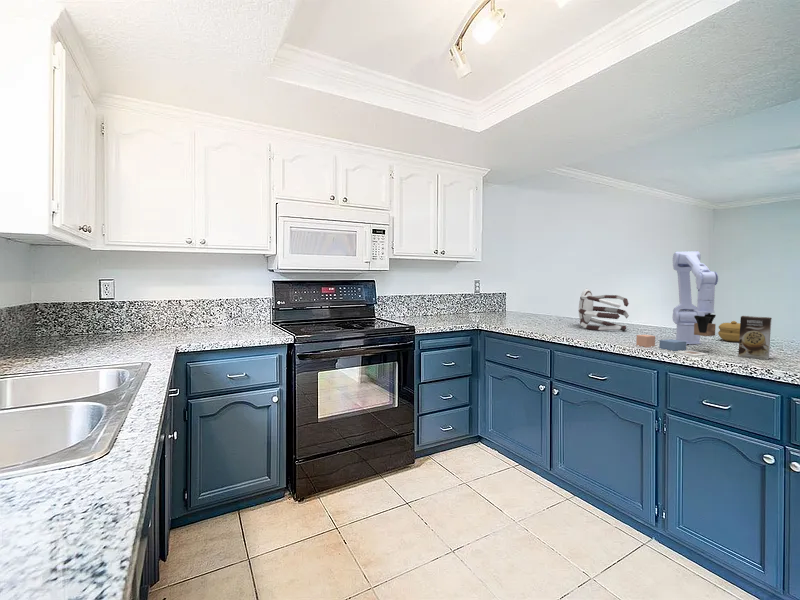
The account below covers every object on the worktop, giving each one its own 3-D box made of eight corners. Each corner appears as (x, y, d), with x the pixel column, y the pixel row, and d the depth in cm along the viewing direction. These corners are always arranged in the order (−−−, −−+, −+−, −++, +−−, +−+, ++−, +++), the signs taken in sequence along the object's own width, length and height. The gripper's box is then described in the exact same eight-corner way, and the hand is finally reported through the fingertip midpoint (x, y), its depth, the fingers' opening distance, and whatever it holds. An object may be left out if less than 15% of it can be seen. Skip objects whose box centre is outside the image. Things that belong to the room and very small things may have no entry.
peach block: (644, 345, 188) (645, 334, 188) (654, 346, 183) (655, 336, 183) (636, 345, 187) (636, 335, 186) (646, 347, 182) (646, 336, 182)
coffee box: (737, 356, 160) (739, 316, 159) (739, 354, 165) (741, 315, 164) (768, 359, 154) (770, 318, 153) (769, 357, 158) (771, 316, 158)
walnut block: (702, 333, 175) (702, 322, 174) (715, 335, 170) (715, 323, 170) (693, 334, 173) (694, 323, 173) (706, 336, 168) (706, 324, 168)
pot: (735, 343, 189) (736, 322, 189) (711, 339, 201) (712, 320, 200) (755, 342, 192) (756, 322, 191) (730, 338, 203) (731, 319, 203)
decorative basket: (597, 323, 266) (641, 334, 233) (562, 325, 259) (602, 337, 226) (599, 287, 263) (644, 293, 230) (564, 288, 256) (605, 294, 223)
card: (689, 351, 172) (689, 350, 172) (708, 354, 164) (708, 353, 164) (675, 352, 169) (675, 351, 169) (694, 356, 162) (694, 354, 162)
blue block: (670, 347, 181) (670, 339, 181) (686, 350, 175) (686, 341, 175) (659, 348, 179) (659, 340, 179) (674, 351, 172) (674, 342, 172)
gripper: (698, 298, 178) (696, 329, 179) (690, 300, 169) (689, 332, 169) (718, 299, 173) (716, 330, 174) (711, 301, 163) (709, 334, 164)
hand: (704, 331), depth 171 cm, fingers closed on walnut block, 7 cm apart
